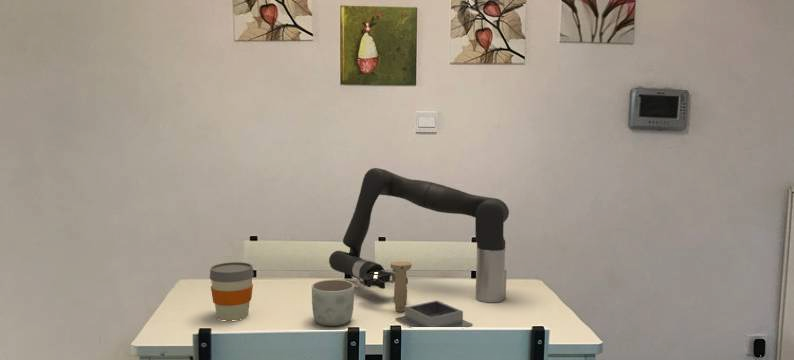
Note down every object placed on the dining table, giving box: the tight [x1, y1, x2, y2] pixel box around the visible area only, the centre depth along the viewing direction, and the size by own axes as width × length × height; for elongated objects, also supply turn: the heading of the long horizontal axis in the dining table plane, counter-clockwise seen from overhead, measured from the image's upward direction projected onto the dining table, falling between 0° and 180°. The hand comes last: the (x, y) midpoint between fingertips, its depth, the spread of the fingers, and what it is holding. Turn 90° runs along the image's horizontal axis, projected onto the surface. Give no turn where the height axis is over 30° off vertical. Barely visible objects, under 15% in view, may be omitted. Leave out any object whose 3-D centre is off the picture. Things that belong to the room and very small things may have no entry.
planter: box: [311, 279, 355, 327], centre depth 171 cm, size 12×12×11 cm
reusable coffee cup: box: [209, 261, 254, 322], centre depth 174 cm, size 13×13×15 cm
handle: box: [390, 261, 412, 313], centre depth 181 cm, size 5×6×15 cm
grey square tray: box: [395, 300, 473, 328], centre depth 171 cm, size 16×16×4 cm
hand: (395, 283), depth 183 cm, fingers open, 8 cm apart
